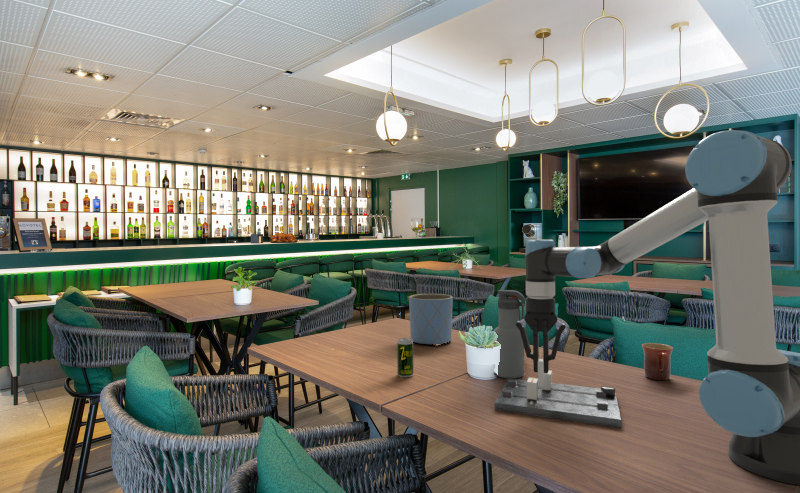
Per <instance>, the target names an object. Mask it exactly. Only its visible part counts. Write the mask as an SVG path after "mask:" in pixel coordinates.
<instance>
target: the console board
mask: <svg viewBox="0 0 800 493" xmlns="http://www.w3.org/2000/svg"><path fill="white" fill-rule="evenodd" d="M527 381H528V379H520V378H516V379H512V378H508V379H507V378H506V381H505V383H504V385H503V387H502V388H501V390H500V393H499V394H498V396H497V397H496V400H495V401H494V411H498V412H504V413H505V412H506V413H512V414H519V415H520V414H521V415H525V416H526V415H527V416H532V417H533V416H534V417H540V418H549V419H556V420H561V421H562V420H563V421H569V422H570V421H571V422H577V423H584V424H590V425H597V426H606V427H612V428H620V429H621V428H622V417H621V413H620V408H619V403H618V398H617V393H616V388H615V387H612V386H607V385H603V386H600V387H591V386H582V385H575V384H566V383H555V382H552V388H551V390H544V389H542V386H538V397H537V400H534V399H527Z"/></svg>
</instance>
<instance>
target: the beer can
mask: <svg viewBox="0 0 800 493" xmlns="http://www.w3.org/2000/svg"><path fill="white" fill-rule="evenodd" d="M396 350H397V351H396V352H397V355H396V356H397V357H396V360H397V361H396V363H397V366H396V367H397V368H396V370H397V376H398V377H399V376H400V377H399V378H402V377H409V378H411V376H412V377H413V376H414V372H415V370H414V366H415V365H414V343H413V339H411V337H402V338H398V339H397V343H396Z"/></svg>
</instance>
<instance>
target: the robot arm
mask: <svg viewBox="0 0 800 493" xmlns="http://www.w3.org/2000/svg"><path fill="white" fill-rule="evenodd" d="M686 159H687V160H686V162H685V170H684V173H685V177H686V179H687V181H688V183H689V185H690V186H691V187H692V188H691V189H690V190H688V191H686V192H685V193H683V194H682V195H680V196H678V197H676V198H675V199H673V200H672V201H670V202H668V203H666V204H665V205H663V206H662V207H659V208H658V209H657V210H655V211H653V212H651V213H650V214H648V215H647V216H645V217H643V218H642V219H640V220H639V221H636V222H635V223H633V224H632V225H629V227H627V228H626V229H624V230H622V231H620V232H619V233H617V234H615V235H613V236H612V237H610V238H609V239H607V240H605V241H604V242H602V243H600V244H599V245H596V246H593V245H592V246H568V247H567V246H563V247H560V246H558V247H557V246H556V243H555V240H554V239H529V240H527V241H526V242H525V253H524V260H525V262H524V263H525V295H526V296H527V297H526V298H525V313H524V314H525V315H524V319H522V318H521V319H520V320H521V321H518V322H517V323H516V326H517V327H518V329H519V330H520V333H521V337H522V341H523V345H524V354H525V355H526V356H525V357H526V358H528V359H531V360H533V363H532V364H533V365H532V366H533V372H534V373H537V379H538V386H544V384H545V377H544V373H548V371H549V370H550V368H549V366H550V365H549V362H550V361H553V360H554V361H555V359H556V356H557V352H558V349H559V344H560V340H561V337H562V334H563V332H564V331H565V330H566V326H567V325H566V323H564V322H562V321H560V320H559V319H558V315H557V314H556V299H555V298H554V297H555V296H556V277H567V278H576V279H592V278H594V277H595V276H603V275H606V276H607V275H608V276H609V275H613V274H616V273H619V272H621V271H622V270H623V269H624V268H625V266H626V265H627V264H629V263H631V262H632V261H634V260H636V259H638V258H640V257H641V256H644V255H646V254H648V253H649V252H651V251H654V250H656V248H658V247H660V246H663V245H665V244H666V243H668V242H669V241H672V240H674V239H676V238H678V237H680V236H682V235H683V234H685V233H686V232H688V231H689V232H690V231H691V230H693V229H694V228H696V227H698V226H700V225H702V224H704V223H706V222H707V221H708V229H709V247H710V260H711V262H710V263H711V277H712V279H711V280H712V292H713V293H712V294H713V308H714V310H713V311H714V327H715V328H714V329H715V345H714V346H713V347H711V348H710V349H709V350H708V351H707V352H706V354H707V356H706V358H707V371H708V372H707V375H706V376H704V377H703V379H702V381H701V383H700V385H699V389H698V396H699V401H700V404H701V405H702V408H703V410H704V411H705V413H706V414H707V416H709V418H711V420H712V421H714V422H715V423H716V424H717V425H718V426H719V427H720V428H722V429H724V430H726V431H728V432H730V433H731V434H732V435H731V437H730V438H729V441H728V444H727V446H728V447H727V448H728V451H727V452H728V456H729V458H730V460H731V461H732V462H733V463H735V464H736V465H738V466H739V467H741V468H742V469H745V470H747V471H749V472H751V473H753V474H755V475H758V476H761V477H764V478H767V479H769V480H774V481H777V482H780V483H785V484H790V485H797V486H799V485H800V352H796V351H795V352H794V351H789V350H784V349H778V348H777V343H776V341H777V340H776V329H775V326H776V325H775V314H774V313H775V311H774V300H773V299H774V297H773V282H772V269H771V267H772V266H771V254H770V253H771V252H770V238H769V222H768V213H769V212H770V210H771V209H772V208H773V207H775V206H776V205H777V204H778V190H779V189H780V188H781V187H783V185H784V184H785V183H786V182H787V180H788V179H789V177H790V175H791V172H792V158H791V155H790V152H789V151H788V150H787V148H786V147H785V146H783V145H782V144H781V143H779V142H778V141H776V140H774V139H771V138H769V137H763V136H759V135H758V134H755V133H754V132H751V131H748V130H734V129H729V130H722V131H717V132H715V133H712V134H710V135H708V136H707V137H705V138H703V139H702V140H700V141H699V142H698V144H696V146H694V147H693V149H692V150H691V151H690V153H689V155H688V157H687V158H686ZM526 324H527V325H526ZM526 326H528V327H529V328H530V330H531V331H532V349H531V344H530V341H529V338H528V333H527V329H526ZM554 326H555V329H556V333H555V337H554V341H553V346H552V348H551V352H549V350H550V349H549V348H550V347H549V345H550V344H549V342H550V341H549V340H550V338H549V334H550V333H549V332H550V331H551V329H553V327H554ZM540 332H541V333H542V346H543V347H542V353H543V355H542V358H540V356H539V355H540V354H539V352H540V348H539V345H540V344H539V337H540V336H539V333H540Z"/></svg>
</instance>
